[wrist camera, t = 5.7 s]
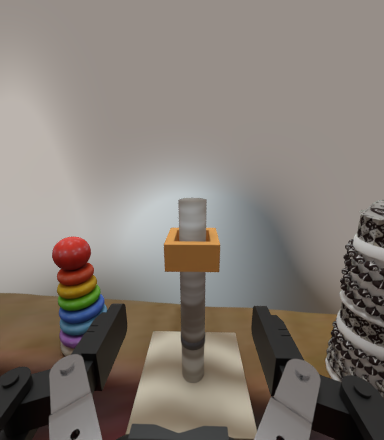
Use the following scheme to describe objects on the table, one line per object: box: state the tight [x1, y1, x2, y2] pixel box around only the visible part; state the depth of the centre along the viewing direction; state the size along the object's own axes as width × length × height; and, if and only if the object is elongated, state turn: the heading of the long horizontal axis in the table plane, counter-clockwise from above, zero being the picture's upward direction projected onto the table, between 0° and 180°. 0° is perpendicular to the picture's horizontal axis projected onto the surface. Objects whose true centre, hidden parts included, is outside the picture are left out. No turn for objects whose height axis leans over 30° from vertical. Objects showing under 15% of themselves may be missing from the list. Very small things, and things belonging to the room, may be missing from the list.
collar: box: [164, 228, 220, 272], centre depth 24 cm, size 6×6×3 cm
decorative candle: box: [325, 200, 384, 398], centre depth 26 cm, size 9×9×25 cm
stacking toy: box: [52, 237, 107, 356], centre depth 33 cm, size 8×8×19 cm
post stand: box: [126, 198, 257, 440], centre depth 26 cm, size 14×14×26 cm
